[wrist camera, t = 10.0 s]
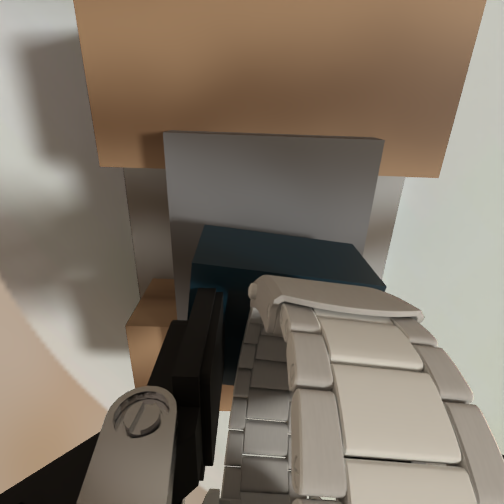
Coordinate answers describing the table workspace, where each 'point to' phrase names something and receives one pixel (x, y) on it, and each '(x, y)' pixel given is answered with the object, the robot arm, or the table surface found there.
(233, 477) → the watch
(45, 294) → the table surface
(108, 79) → the watch stand
